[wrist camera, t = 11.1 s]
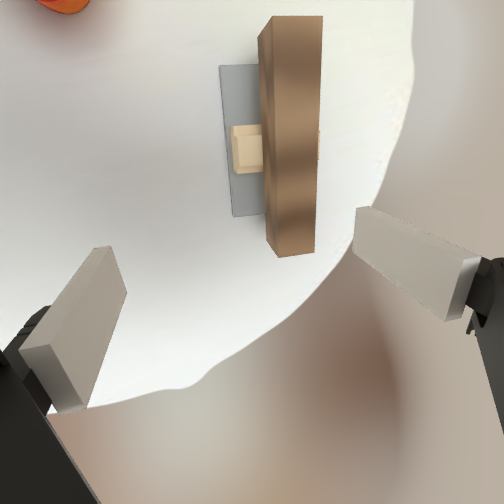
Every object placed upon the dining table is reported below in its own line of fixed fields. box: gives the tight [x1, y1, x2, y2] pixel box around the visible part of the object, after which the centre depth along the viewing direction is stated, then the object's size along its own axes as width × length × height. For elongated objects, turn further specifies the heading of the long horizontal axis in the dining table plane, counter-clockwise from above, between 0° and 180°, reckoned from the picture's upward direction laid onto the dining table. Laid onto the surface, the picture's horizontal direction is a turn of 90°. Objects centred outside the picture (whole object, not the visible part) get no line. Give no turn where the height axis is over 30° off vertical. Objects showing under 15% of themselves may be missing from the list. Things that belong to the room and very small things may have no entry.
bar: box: [258, 16, 323, 258], centre depth 27 cm, size 20×4×5 cm, turn 4°
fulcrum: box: [219, 64, 320, 217], centre depth 31 cm, size 17×10×6 cm, turn 4°
